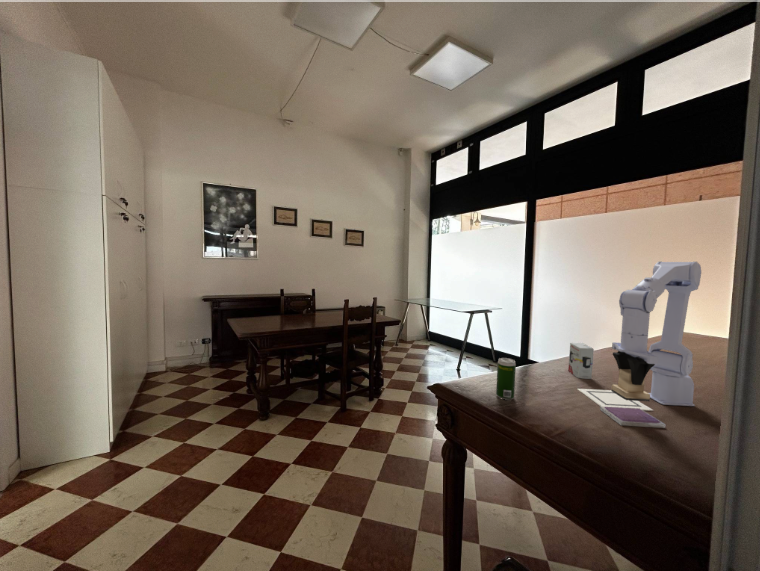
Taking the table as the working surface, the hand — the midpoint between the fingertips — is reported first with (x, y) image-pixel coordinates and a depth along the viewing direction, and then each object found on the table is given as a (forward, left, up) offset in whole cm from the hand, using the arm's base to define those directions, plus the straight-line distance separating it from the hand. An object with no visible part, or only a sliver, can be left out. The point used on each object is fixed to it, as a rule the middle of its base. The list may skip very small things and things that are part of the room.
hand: (630, 381), depth 87 cm
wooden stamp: (0, 0, -4) cm, 4 cm away
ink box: (-5, -34, -10) cm, 36 cm away
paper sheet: (-3, -12, -10) cm, 16 cm away
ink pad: (0, +1, -10) cm, 10 cm away
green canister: (+31, -9, -10) cm, 34 cm away
